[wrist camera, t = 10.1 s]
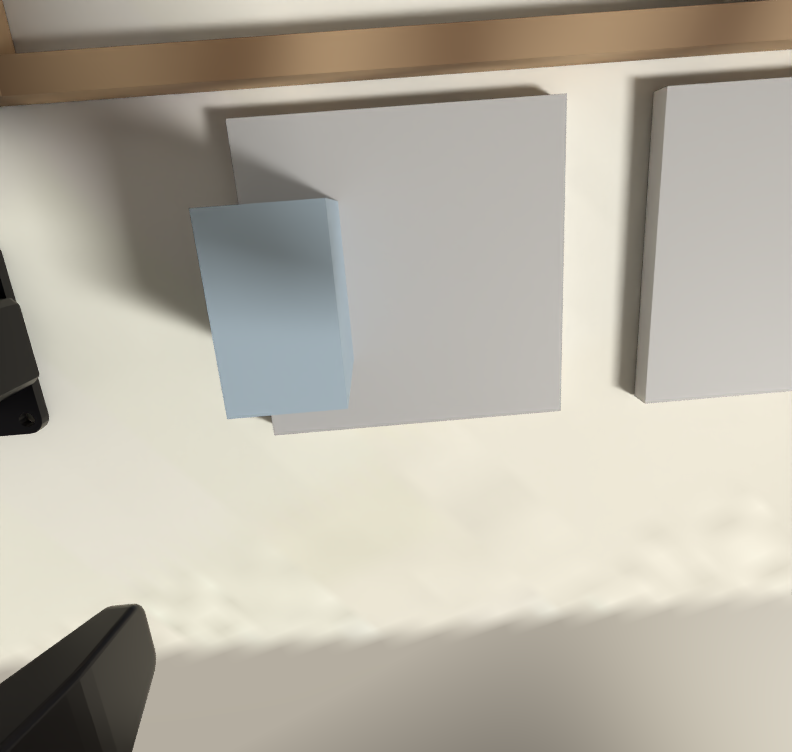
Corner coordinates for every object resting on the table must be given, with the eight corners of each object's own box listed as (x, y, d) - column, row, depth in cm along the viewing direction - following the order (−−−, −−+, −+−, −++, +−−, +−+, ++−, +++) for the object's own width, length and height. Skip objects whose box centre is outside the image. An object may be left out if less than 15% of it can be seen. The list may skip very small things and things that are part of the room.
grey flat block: (278, 426, 19) (243, 507, 14) (232, 122, 16) (165, 81, 11) (980, 366, 20) (1201, 422, 15) (1062, 61, 17) (1376, -6, 12)
